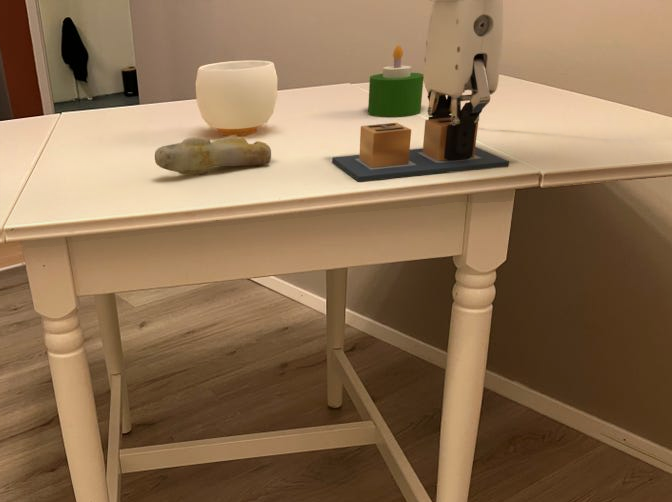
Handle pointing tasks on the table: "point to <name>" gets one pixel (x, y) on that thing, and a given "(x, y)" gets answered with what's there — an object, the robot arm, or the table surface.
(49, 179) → the table surface
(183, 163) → the figurine
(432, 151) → the tile
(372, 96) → the candle
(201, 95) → the cup
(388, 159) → the tile
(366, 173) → the word mat
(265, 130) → the table surface
